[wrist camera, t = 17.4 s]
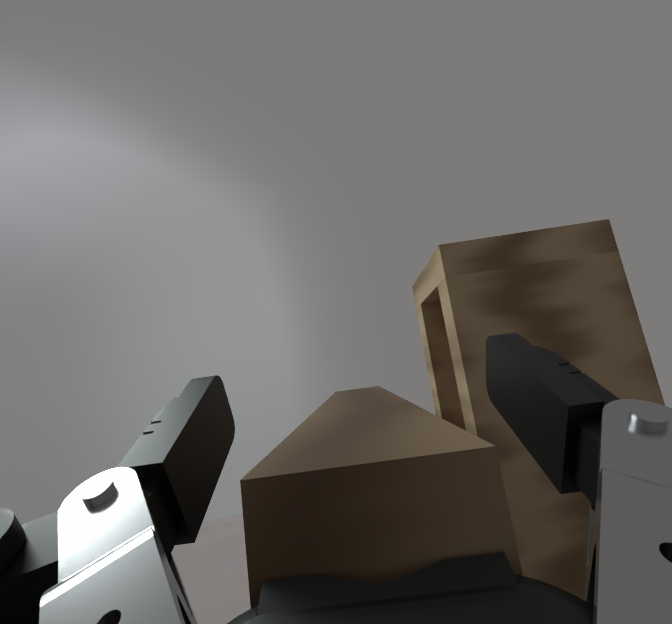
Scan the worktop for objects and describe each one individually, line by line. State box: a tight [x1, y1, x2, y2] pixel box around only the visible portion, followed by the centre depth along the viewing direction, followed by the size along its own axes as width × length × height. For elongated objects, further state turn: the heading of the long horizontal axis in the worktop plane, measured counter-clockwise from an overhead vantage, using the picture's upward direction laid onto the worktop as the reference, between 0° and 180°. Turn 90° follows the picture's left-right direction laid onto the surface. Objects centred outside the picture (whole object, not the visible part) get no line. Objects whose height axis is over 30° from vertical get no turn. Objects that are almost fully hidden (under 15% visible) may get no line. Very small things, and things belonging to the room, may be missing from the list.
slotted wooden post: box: [413, 219, 665, 600], centre depth 23 cm, size 10×10×32 cm
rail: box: [240, 386, 523, 609], centre depth 16 cm, size 4×24×3 cm, turn 177°
